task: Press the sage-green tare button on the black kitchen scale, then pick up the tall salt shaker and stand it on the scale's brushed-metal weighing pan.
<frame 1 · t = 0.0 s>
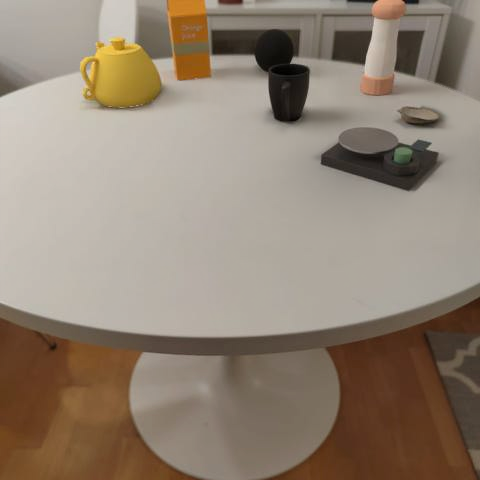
salt shaker: (375, 90, 107), on the table
scale: (377, 163, 79), on the table
teapot: (120, 97, 109), on the table
decorative ball: (273, 73, 120), on the table
tare button: (402, 155, 73), point 4 cm above the table, slide at 0.1 cm
seashell: (415, 122, 93), on the table
mug: (286, 121, 95), on the table
scale pan: (379, 142, 77), on the scale, point 3 cm above the table
orange juice: (192, 75, 120), on the table
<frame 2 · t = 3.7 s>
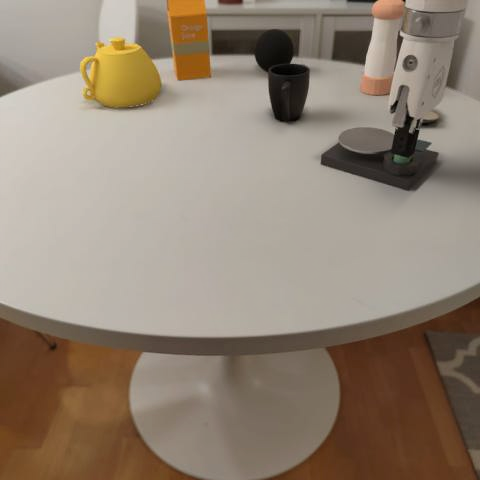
hand: (402, 153, 72), 4 cm above the table, tool pointing down, fingers closed
tare button: (402, 158, 73), point 4 cm above the table, slide at -0.4 cm, touching gripper
everything else where it was.
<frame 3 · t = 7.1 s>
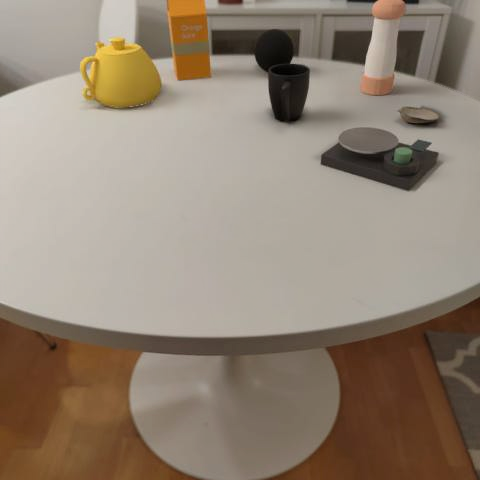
tare button: (402, 155, 73), point 4 cm above the table, slide at 0.1 cm
everything else where it was.
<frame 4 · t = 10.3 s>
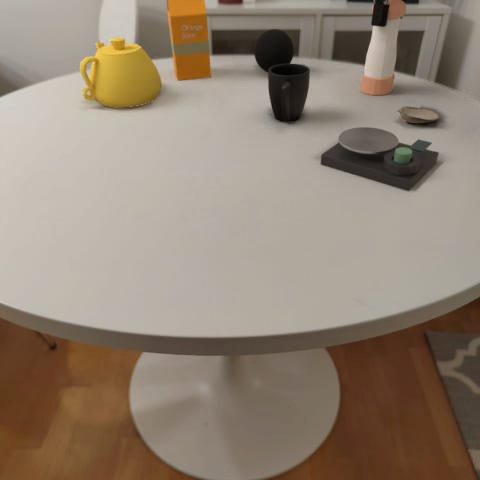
hand: (386, 21, 98), 14 cm above the table, tool pointing down, fingers closed on salt shaker, 7 cm apart
salt shaker: (375, 90, 107), on the table, touching gripper
everything else where it was.
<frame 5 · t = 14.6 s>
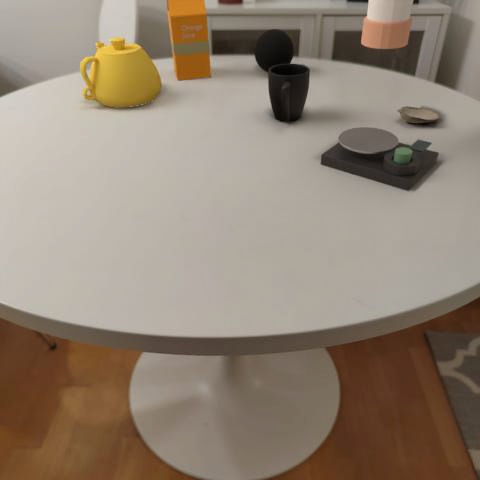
salt shaker: (383, 44, 73), point 17 cm above the table, touching gripper
everything else where it was.
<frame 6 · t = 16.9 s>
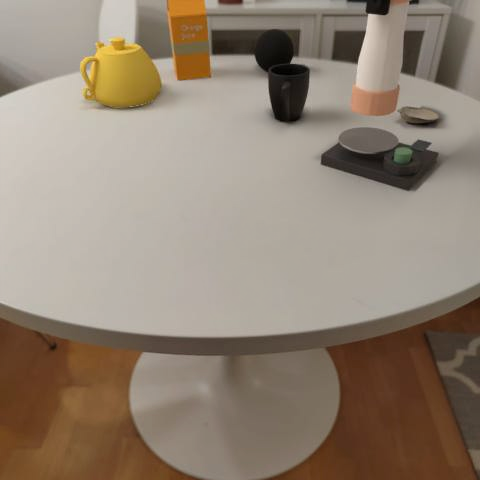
hand: (389, 7, 65), 23 cm above the table, tool pointing down, fingers closed on salt shaker, 7 cm apart
salt shaker: (372, 109, 75), point 9 cm above the table, touching gripper
everything else where it was.
when the fingers open (18 cm above the table, at t = 18.7 s): salt shaker stays where it is, resting on scale pan.
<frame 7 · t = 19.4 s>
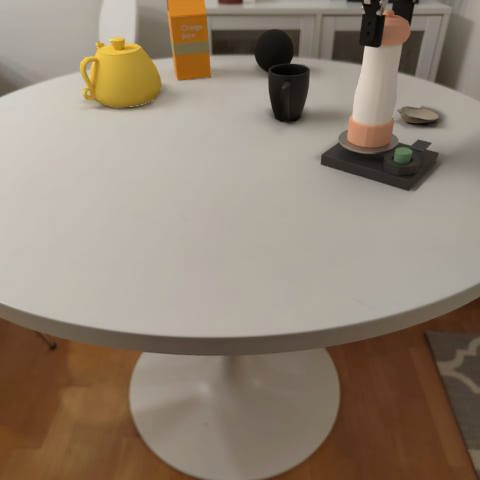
hand: (384, 38, 68), 19 cm above the table, tool pointing down, fingers open, 9 cm apart
salt shaker: (368, 139, 78), point 4 cm above the table, touching scale pan
everything else where it was.
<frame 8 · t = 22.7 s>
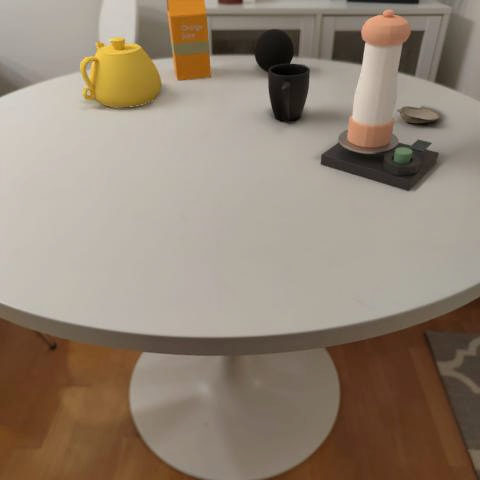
nothing on the table moved.
at the end: tare button pushed in 0.9 cm at the most during the clip, back to where it started at the end; salt shaker inside the target area on the scale (0.1 cm from its centre), point 3.7 cm above the scale's base; salt shaker tilted 0° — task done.
